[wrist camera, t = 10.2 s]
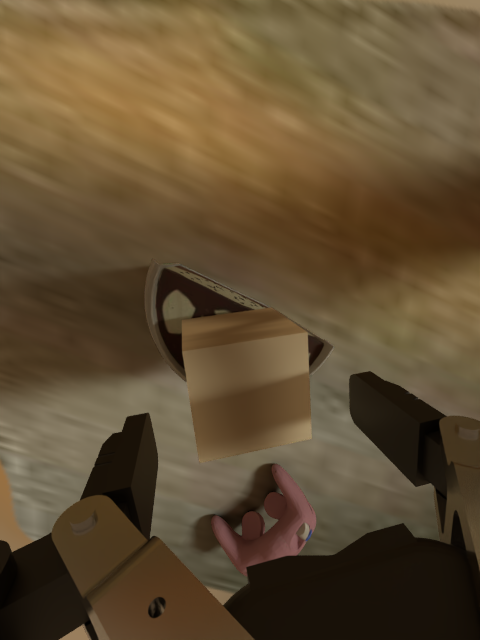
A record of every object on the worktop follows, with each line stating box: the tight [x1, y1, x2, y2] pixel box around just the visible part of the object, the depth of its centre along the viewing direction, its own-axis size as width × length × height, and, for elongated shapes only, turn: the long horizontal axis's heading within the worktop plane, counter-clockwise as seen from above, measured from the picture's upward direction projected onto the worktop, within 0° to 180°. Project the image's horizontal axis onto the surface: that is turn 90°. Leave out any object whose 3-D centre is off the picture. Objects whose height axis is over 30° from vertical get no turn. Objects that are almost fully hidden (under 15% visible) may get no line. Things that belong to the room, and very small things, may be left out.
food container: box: [144, 259, 334, 382], centre depth 22 cm, size 12×6×10 cm, turn 63°
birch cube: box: [182, 308, 312, 463], centre depth 15 cm, size 5×5×5 cm
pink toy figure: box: [211, 464, 316, 576], centre depth 30 cm, size 10×5×7 cm, turn 130°
